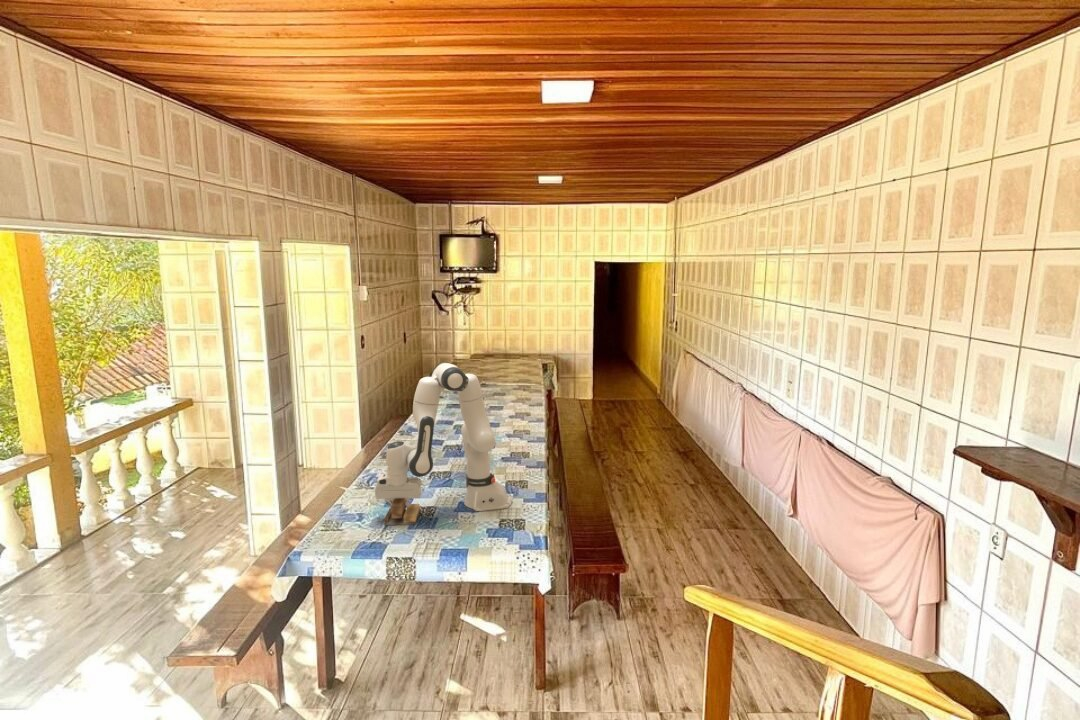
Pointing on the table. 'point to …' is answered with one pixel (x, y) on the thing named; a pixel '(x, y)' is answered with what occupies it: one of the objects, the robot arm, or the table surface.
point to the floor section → (404, 516)
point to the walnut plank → (398, 507)
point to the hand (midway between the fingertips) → (399, 506)
